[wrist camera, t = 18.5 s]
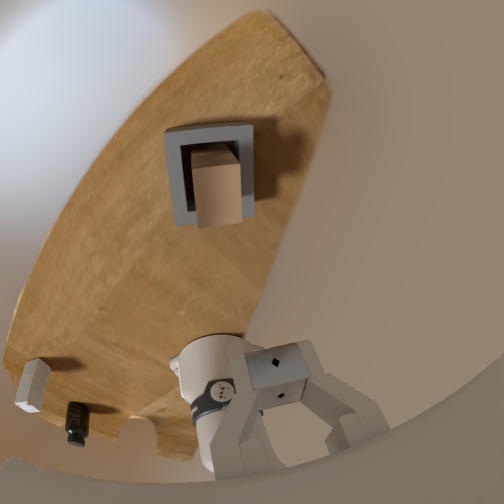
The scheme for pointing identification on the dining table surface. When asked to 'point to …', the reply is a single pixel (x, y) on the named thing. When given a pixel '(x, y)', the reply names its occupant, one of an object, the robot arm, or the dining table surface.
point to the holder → (202, 134)
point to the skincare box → (33, 385)
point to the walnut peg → (216, 185)
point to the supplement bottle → (77, 423)
